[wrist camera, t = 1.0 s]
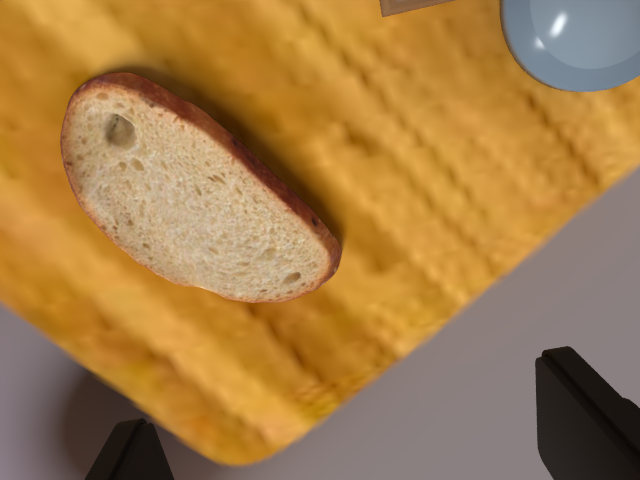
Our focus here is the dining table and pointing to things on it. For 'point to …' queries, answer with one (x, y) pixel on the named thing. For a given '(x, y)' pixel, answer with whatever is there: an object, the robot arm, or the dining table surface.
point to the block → (405, 5)
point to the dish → (574, 41)
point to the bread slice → (189, 195)
